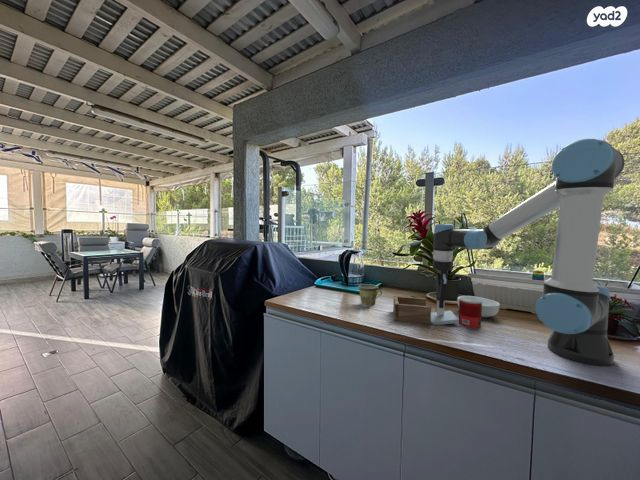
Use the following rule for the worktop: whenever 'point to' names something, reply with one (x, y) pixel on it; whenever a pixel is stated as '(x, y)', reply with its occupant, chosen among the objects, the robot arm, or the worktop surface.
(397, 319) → the crate
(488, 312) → the cereal bowl
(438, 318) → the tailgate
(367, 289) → the ceramic cup
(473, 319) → the canned food
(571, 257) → the robot arm
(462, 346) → the worktop surface
